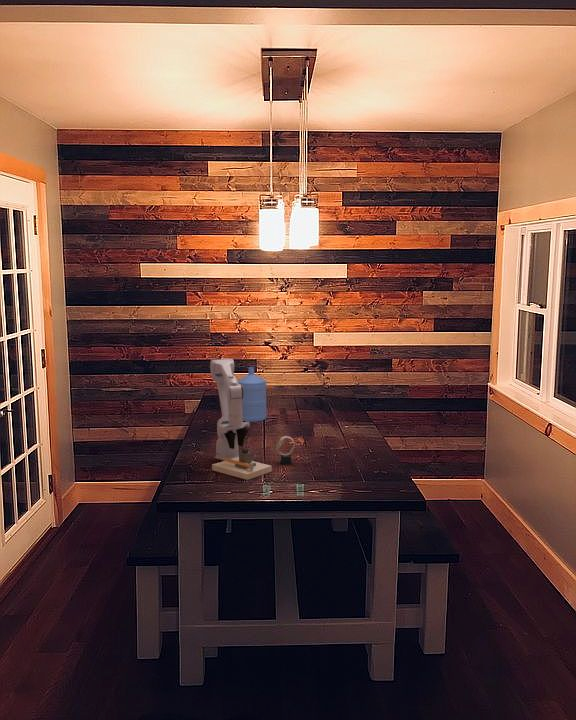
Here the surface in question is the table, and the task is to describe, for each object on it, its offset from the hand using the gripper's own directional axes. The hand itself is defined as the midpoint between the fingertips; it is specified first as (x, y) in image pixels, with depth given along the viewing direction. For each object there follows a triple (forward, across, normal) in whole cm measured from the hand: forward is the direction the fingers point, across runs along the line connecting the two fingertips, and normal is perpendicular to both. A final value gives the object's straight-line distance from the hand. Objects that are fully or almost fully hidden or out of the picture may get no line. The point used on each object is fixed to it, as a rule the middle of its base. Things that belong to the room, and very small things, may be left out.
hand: (236, 447), depth 283 cm
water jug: (+9, +66, +56) cm, 87 cm away
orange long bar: (+5, -5, -6) cm, 10 cm away
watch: (+9, +18, -12) cm, 23 cm away
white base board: (+8, -2, -6) cm, 10 cm away
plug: (+8, -2, -8) cm, 12 cm away
